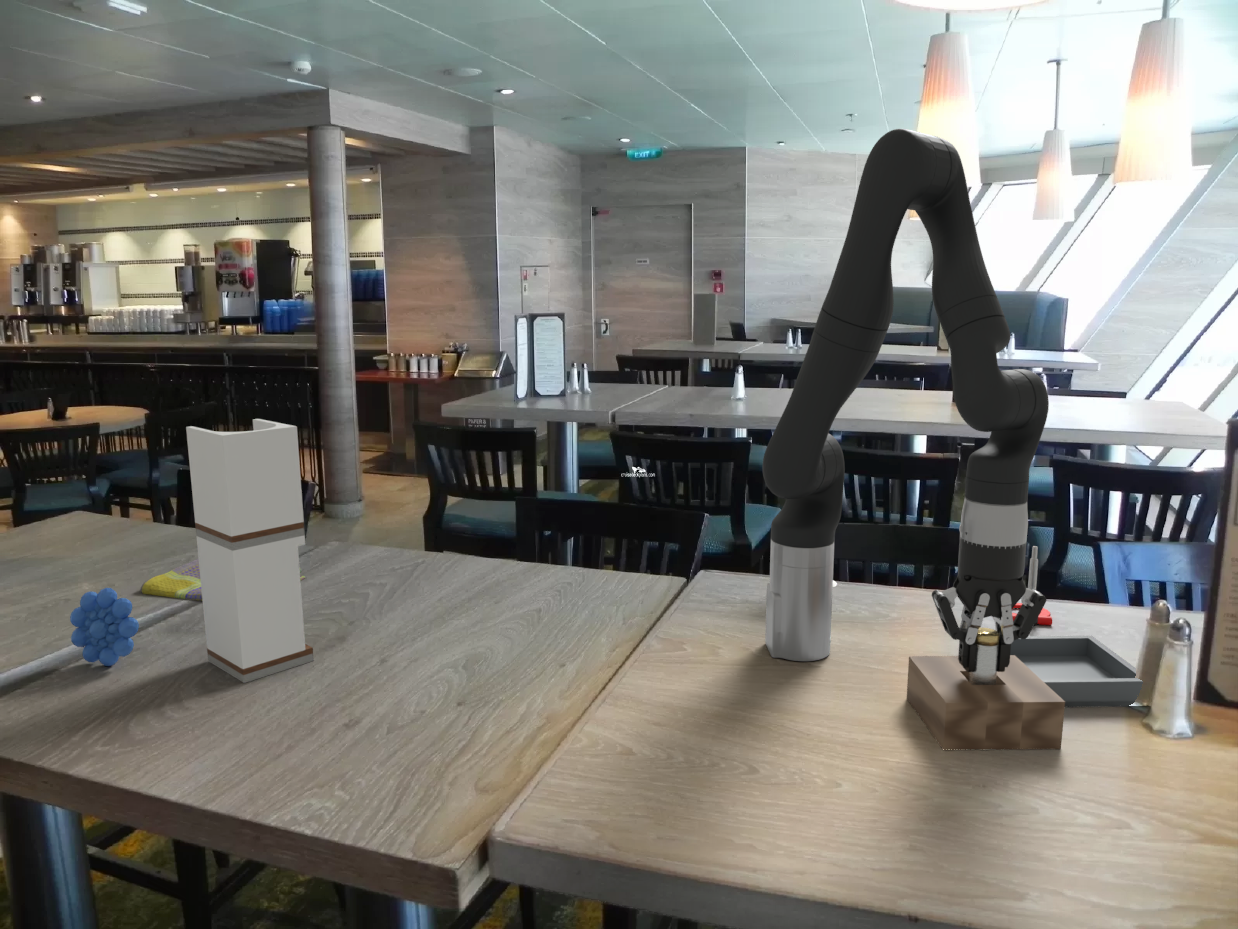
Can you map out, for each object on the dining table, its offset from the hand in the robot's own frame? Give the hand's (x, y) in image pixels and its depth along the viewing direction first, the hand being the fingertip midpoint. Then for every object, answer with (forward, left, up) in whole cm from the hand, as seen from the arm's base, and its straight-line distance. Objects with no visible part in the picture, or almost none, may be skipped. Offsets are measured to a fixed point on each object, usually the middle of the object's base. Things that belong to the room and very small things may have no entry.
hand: (983, 669), depth 117 cm
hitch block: (0, 0, -7) cm, 7 cm away
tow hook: (+22, +38, -8) cm, 45 cm away
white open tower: (-98, +22, -7) cm, 101 cm away
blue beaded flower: (-120, +22, -7) cm, 122 cm away
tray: (+16, +12, -7) cm, 21 cm away
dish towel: (-118, +58, -8) cm, 132 cm away
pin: (0, 0, -7) cm, 7 cm away
